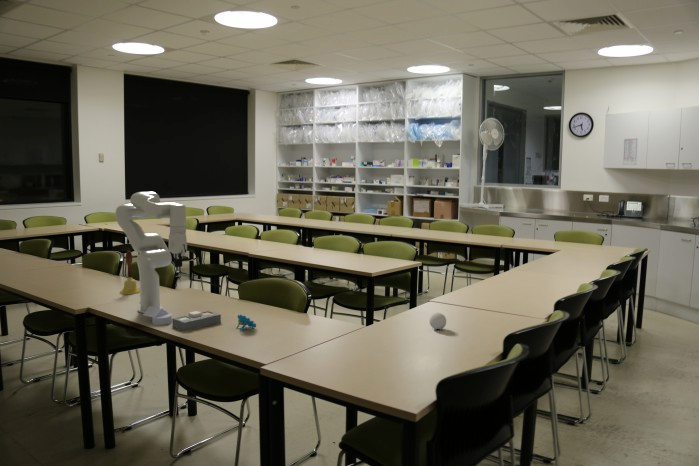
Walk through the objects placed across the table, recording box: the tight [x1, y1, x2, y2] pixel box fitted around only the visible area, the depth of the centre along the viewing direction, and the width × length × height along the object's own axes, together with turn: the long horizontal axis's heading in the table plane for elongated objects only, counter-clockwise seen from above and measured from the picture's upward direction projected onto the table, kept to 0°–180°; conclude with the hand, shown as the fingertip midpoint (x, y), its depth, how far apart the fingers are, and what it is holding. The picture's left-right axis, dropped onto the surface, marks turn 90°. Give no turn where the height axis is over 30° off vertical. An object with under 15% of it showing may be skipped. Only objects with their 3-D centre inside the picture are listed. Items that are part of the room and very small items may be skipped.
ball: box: [429, 312, 447, 330], centre depth 258 cm, size 8×8×8 cm
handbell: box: [119, 250, 140, 295], centre depth 324 cm, size 12×12×25 cm
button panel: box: [172, 310, 222, 332], centre depth 261 cm, size 10×20×4 cm, turn 138°
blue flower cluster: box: [236, 314, 257, 331], centre depth 254 cm, size 11×6×10 cm
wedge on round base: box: [142, 307, 173, 326], centre depth 266 cm, size 9×7×13 cm
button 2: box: [188, 310, 202, 318], centre depth 262 cm, size 4×4×3 cm
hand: (178, 266), depth 267 cm, fingers closed
